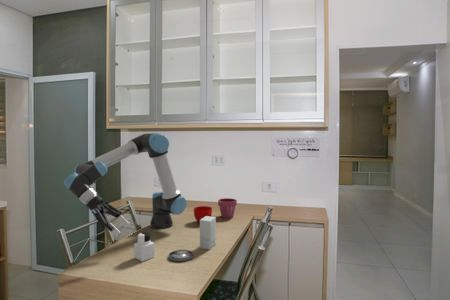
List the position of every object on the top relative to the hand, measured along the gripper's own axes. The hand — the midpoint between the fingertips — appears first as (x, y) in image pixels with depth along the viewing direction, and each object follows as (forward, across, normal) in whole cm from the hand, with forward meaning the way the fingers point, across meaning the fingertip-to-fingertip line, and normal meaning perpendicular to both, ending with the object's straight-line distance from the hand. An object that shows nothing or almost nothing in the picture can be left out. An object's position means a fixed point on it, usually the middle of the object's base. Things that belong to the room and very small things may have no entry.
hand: (123, 230), depth 133 cm
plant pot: (+48, -73, +28) cm, 92 cm away
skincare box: (+39, -13, +19) cm, 45 cm away
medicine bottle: (+17, 0, -3) cm, 17 cm away
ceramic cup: (+36, -57, +16) cm, 70 cm away
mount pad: (+29, 0, +10) cm, 31 cm away
